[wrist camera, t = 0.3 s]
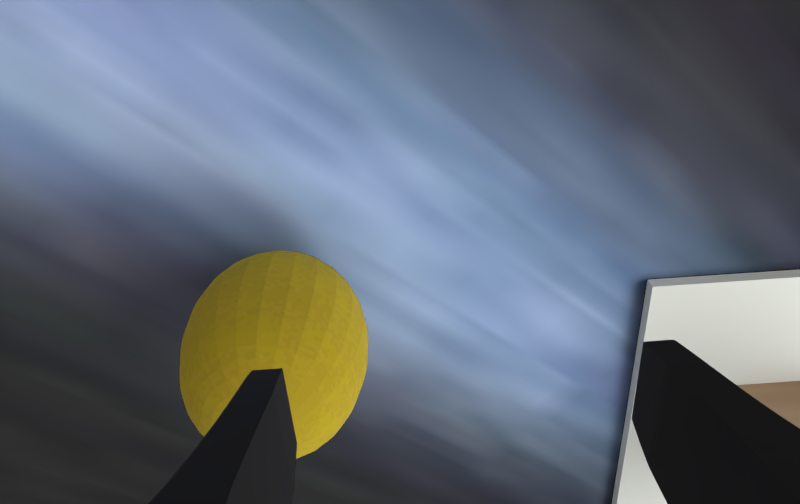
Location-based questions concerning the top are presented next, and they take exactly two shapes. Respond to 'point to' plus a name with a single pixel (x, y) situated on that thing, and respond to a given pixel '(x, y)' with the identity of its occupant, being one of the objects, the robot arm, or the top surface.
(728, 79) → the top surface
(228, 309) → the lemon
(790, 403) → the walnut block
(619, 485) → the mat
